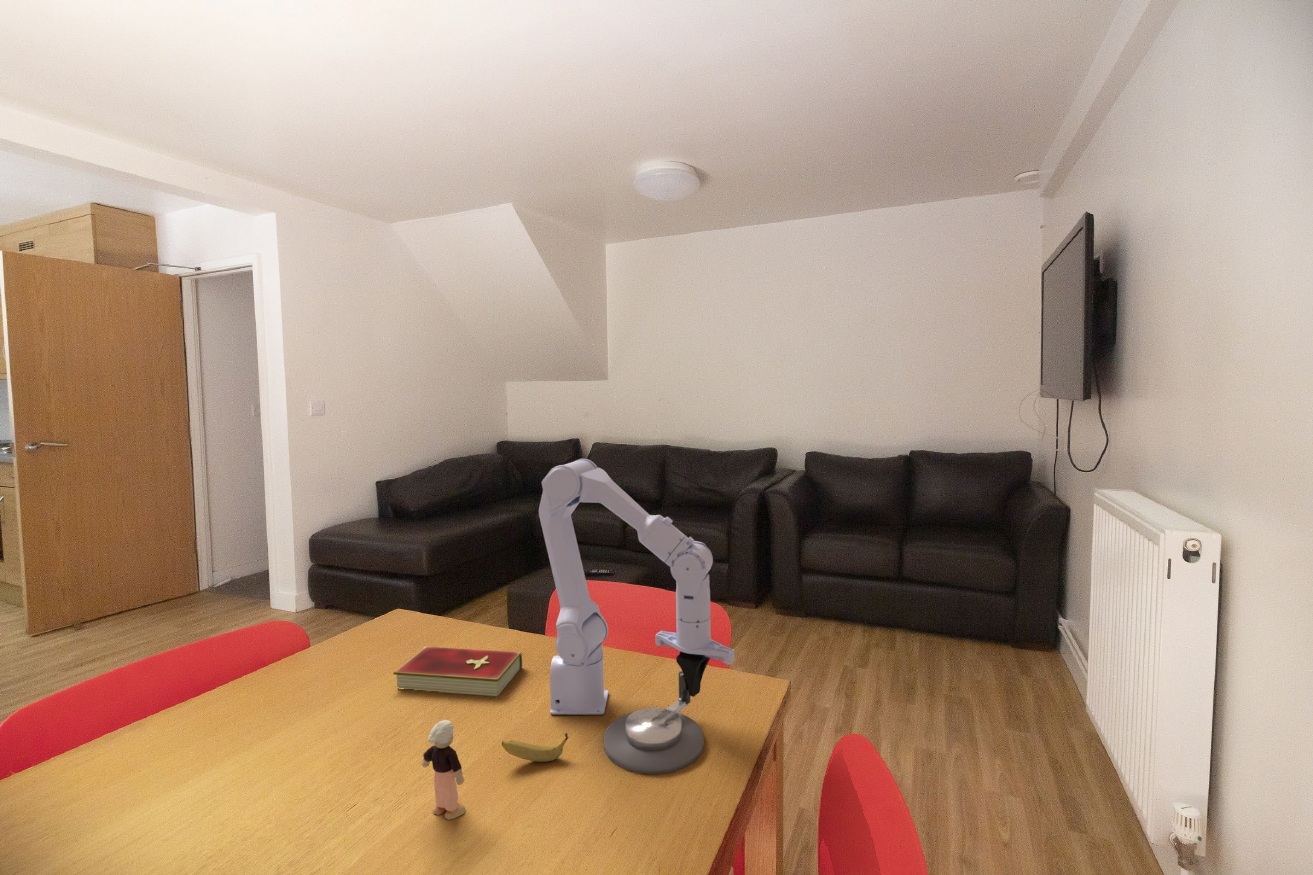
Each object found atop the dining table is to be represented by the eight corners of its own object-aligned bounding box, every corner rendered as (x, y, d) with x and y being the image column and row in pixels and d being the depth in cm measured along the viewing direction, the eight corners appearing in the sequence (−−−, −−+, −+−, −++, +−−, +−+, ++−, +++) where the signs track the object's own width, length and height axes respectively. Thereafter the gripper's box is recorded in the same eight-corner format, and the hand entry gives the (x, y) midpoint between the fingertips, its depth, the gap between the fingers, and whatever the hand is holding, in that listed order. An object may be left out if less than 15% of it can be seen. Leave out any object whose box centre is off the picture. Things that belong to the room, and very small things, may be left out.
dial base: (598, 773, 94) (598, 764, 94) (609, 715, 110) (609, 708, 110) (705, 774, 93) (705, 765, 93) (701, 716, 109) (701, 708, 109)
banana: (501, 769, 95) (500, 744, 95) (503, 759, 98) (502, 735, 97) (569, 762, 97) (568, 737, 96) (568, 753, 99) (568, 729, 99)
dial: (659, 757, 95) (659, 716, 95) (614, 737, 101) (613, 698, 100) (710, 715, 107) (709, 678, 106) (666, 699, 112) (666, 664, 112)
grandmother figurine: (478, 805, 87) (474, 718, 86) (461, 824, 84) (456, 734, 82) (432, 794, 90) (427, 709, 88) (413, 812, 86) (408, 724, 85)
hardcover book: (426, 663, 132) (426, 644, 132) (522, 669, 129) (521, 650, 128) (394, 692, 120) (393, 670, 120) (498, 699, 117) (497, 677, 116)
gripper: (743, 617, 105) (743, 695, 106) (670, 601, 113) (671, 673, 115) (722, 631, 99) (723, 713, 100) (647, 613, 107) (649, 689, 109)
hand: (694, 693), depth 107 cm, fingers closed
